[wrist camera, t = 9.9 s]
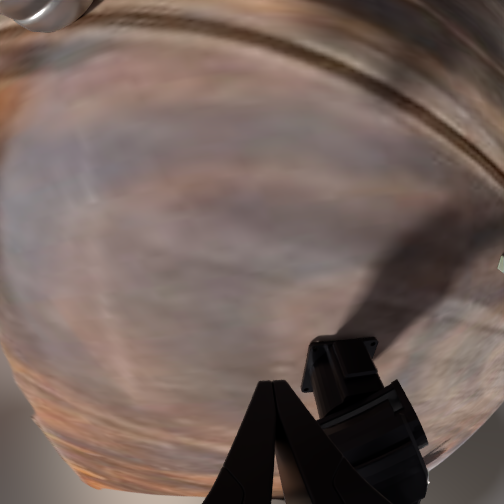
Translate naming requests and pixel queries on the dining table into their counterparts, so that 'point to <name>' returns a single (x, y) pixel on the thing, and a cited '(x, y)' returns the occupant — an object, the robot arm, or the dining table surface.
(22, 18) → the plastic bottle
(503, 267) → the pocket
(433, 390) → the dining table surface
